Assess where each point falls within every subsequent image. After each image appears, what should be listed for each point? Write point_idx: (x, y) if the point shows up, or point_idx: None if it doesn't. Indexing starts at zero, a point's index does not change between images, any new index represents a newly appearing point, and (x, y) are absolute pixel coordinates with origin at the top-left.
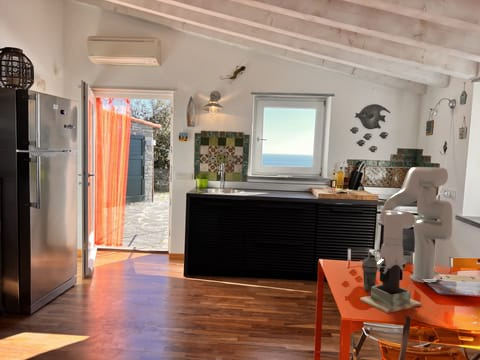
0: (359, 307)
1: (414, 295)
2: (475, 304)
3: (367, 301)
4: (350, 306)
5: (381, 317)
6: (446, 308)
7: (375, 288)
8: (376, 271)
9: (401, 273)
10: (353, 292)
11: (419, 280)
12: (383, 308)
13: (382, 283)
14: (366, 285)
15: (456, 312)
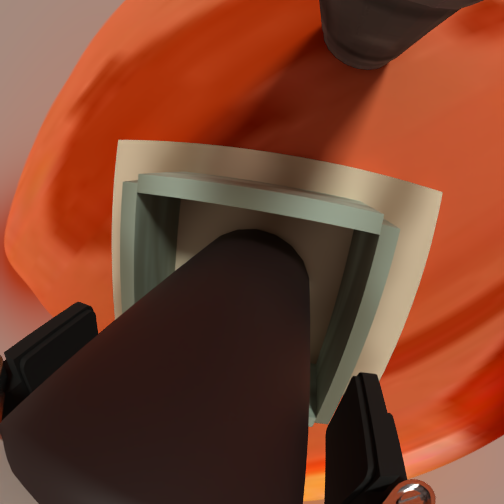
0: (62, 217)
1: (494, 292)
2: (499, 437)
3: (113, 204)
4: (43, 187)
5: None
6: (409, 438)
7: (123, 231)
8: (440, 7)
9: (328, 498)
10: (202, 26)
11: None
12: (116, 318)
13: (169, 275)
14: (321, 19)
15: None
